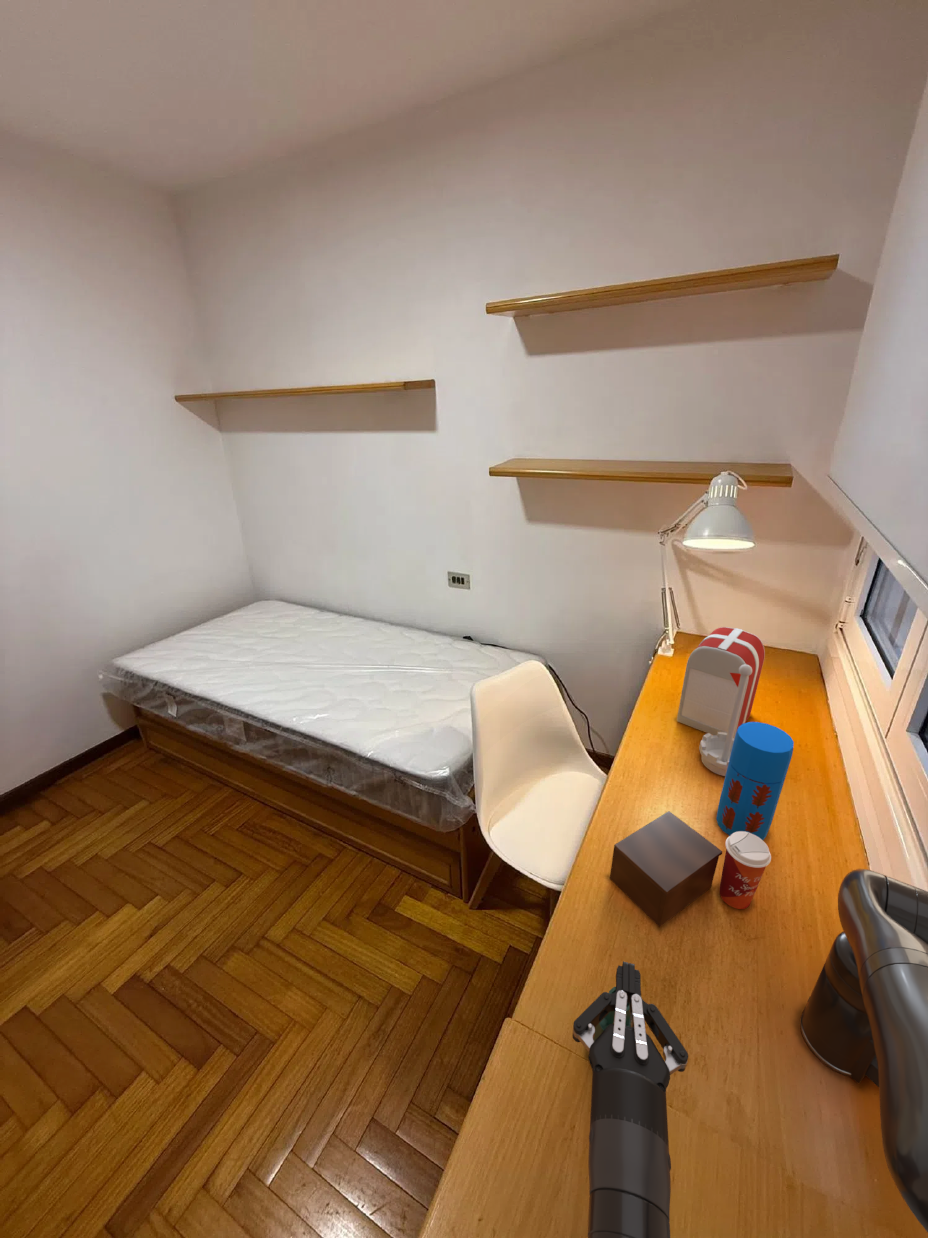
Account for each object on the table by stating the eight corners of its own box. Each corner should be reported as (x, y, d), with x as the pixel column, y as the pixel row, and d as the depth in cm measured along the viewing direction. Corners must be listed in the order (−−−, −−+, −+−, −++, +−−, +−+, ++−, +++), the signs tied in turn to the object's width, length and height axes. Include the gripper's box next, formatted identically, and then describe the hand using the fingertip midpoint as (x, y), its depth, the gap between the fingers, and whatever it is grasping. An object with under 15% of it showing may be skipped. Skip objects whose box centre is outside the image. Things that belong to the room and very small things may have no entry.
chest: (659, 845, 114) (665, 815, 111) (711, 887, 104) (719, 856, 101) (609, 878, 107) (613, 847, 103) (659, 927, 97) (666, 895, 93)
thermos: (774, 847, 113) (803, 756, 103) (721, 840, 115) (744, 750, 105) (759, 810, 123) (784, 724, 112) (710, 804, 125) (730, 719, 114)
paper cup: (732, 919, 98) (747, 867, 92) (704, 884, 105) (717, 834, 99) (766, 908, 100) (783, 856, 94) (737, 875, 107) (751, 825, 101)
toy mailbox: (675, 720, 156) (689, 640, 144) (696, 695, 168) (710, 620, 156) (733, 743, 145) (753, 659, 134) (751, 714, 157) (771, 635, 146)
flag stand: (762, 776, 133) (790, 676, 121) (715, 783, 131) (739, 681, 119) (730, 745, 145) (753, 650, 132) (687, 750, 143) (706, 655, 131)
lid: (668, 813, 111) (668, 810, 111) (722, 854, 101) (722, 851, 101) (613, 847, 103) (614, 844, 103) (666, 895, 93) (666, 892, 93)
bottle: (639, 1065, 78) (652, 1005, 71) (610, 1092, 75) (621, 1033, 68) (609, 1027, 82) (619, 968, 76) (581, 1051, 79) (588, 992, 73)
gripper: (559, 1138, 54) (574, 970, 69) (694, 1184, 51) (679, 997, 66) (562, 1104, 51) (576, 935, 66) (707, 1151, 48) (688, 961, 63)
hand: (628, 966), depth 66 cm, fingers closed
